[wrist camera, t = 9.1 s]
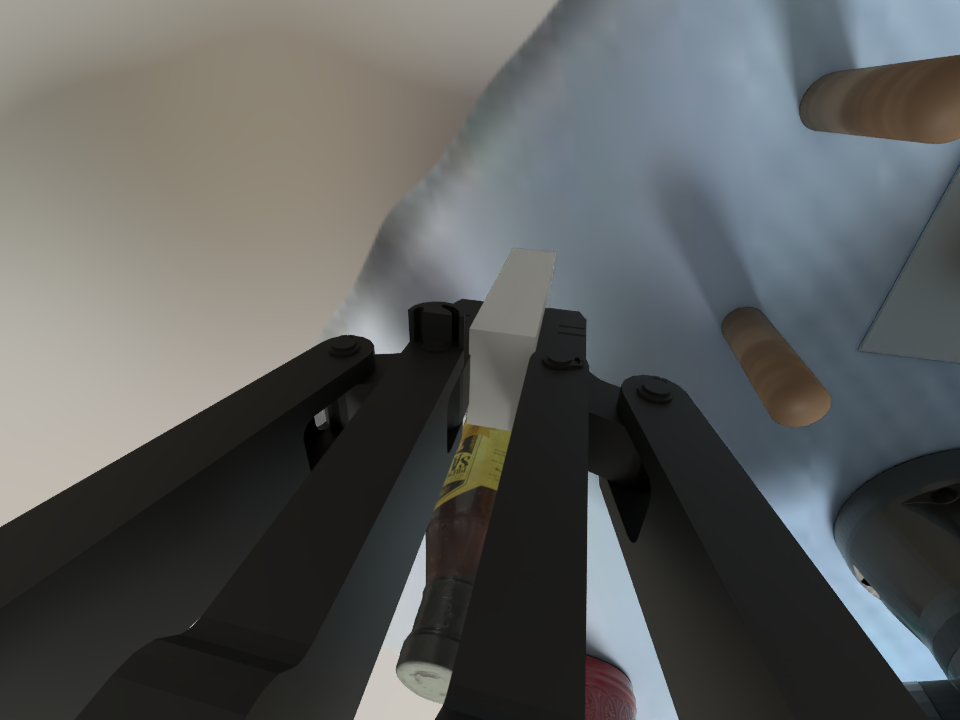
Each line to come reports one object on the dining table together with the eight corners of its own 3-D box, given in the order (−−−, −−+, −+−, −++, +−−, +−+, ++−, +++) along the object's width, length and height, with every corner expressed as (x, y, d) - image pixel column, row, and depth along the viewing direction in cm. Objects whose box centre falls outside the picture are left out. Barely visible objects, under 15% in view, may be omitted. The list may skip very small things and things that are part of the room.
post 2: (871, 72, 21) (1027, 53, 14) (846, 132, 23) (976, 145, 15) (812, 70, 22) (931, 52, 14) (791, 129, 23) (890, 142, 15)
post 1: (772, 309, 28) (841, 387, 20) (757, 345, 29) (817, 431, 21) (728, 304, 28) (780, 378, 20) (716, 340, 29) (759, 422, 22)
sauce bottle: (480, 374, 35) (378, 622, 18) (554, 399, 35) (521, 675, 18) (463, 433, 38) (364, 687, 22) (530, 456, 38) (484, 733, 21)
